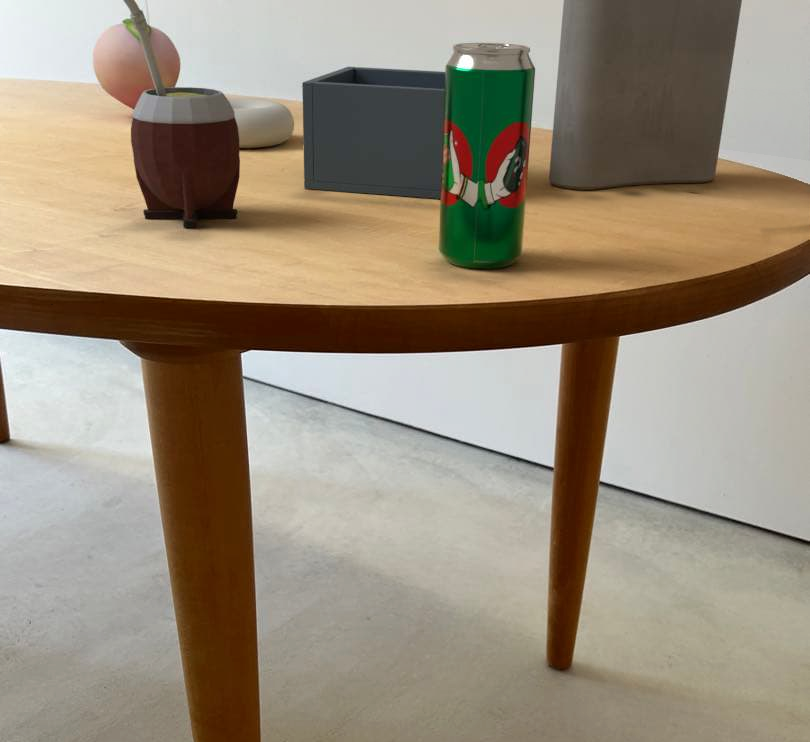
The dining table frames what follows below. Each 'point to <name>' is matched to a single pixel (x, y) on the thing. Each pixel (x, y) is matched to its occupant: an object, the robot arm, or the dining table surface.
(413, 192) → the bin
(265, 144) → the donut
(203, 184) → the mate gourd
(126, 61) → the decorative fruit
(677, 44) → the flask
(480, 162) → the soda can
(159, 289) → the dining table surface
